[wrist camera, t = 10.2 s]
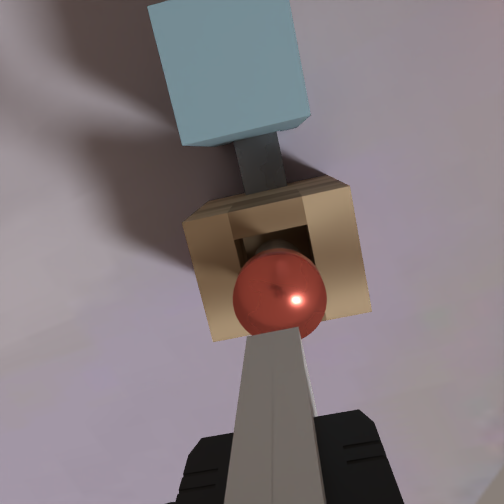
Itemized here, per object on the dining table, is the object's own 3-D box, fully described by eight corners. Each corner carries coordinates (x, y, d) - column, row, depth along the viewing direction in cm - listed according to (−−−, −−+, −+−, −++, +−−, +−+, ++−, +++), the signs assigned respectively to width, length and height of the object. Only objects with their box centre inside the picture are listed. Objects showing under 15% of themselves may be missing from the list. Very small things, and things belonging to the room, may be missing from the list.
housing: (208, 201, 33) (181, 222, 23) (326, 174, 32) (349, 186, 23) (230, 287, 35) (213, 341, 25) (343, 264, 34) (371, 311, 24)
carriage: (194, 60, 31) (146, 6, 19) (279, 38, 30) (283, -31, 18) (215, 146, 32) (182, 145, 20) (296, 127, 31) (310, 115, 20)
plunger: (235, 236, 24) (222, 265, 18) (306, 221, 24) (317, 245, 18) (251, 303, 25) (244, 351, 19) (319, 289, 25) (334, 334, 19)
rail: (162, -181, 28) (154, -205, 26) (208, -195, 28) (203, -221, 26) (247, 192, 33) (245, 195, 31) (286, 183, 33) (287, 185, 31)
